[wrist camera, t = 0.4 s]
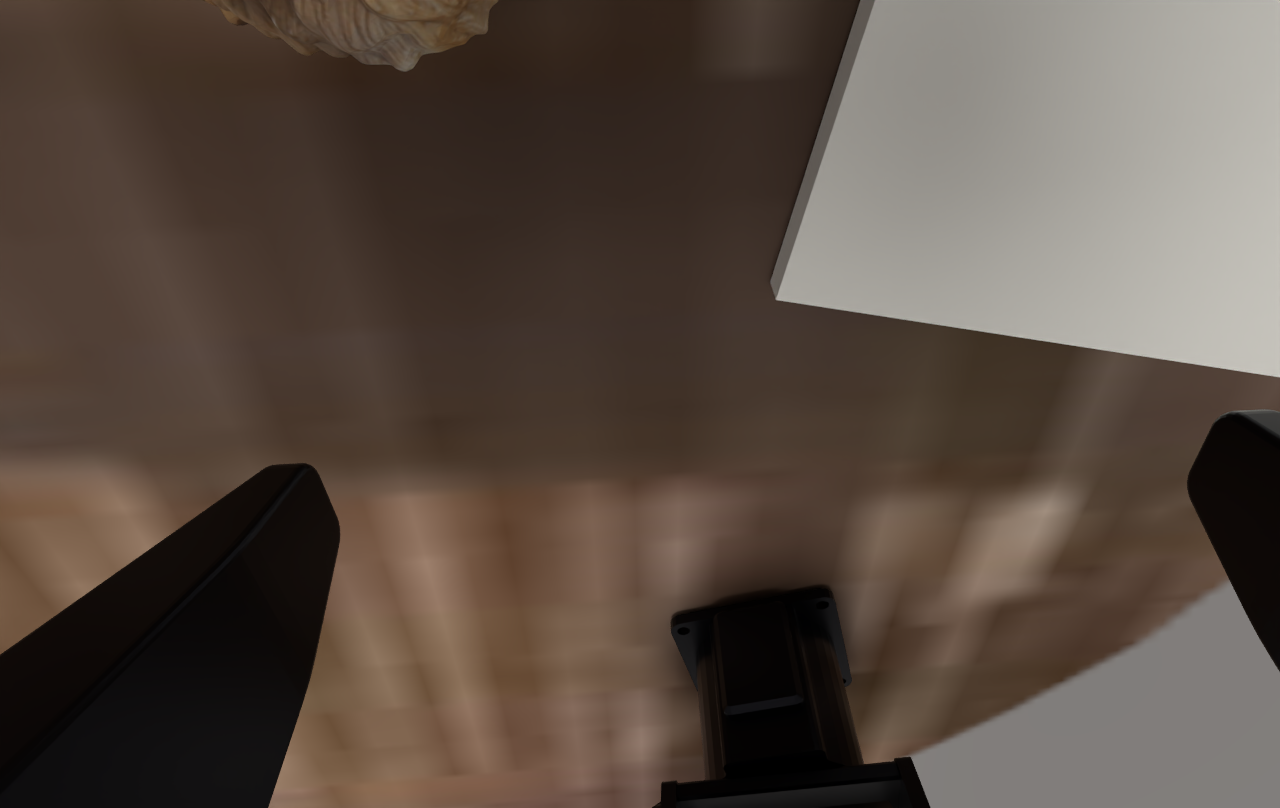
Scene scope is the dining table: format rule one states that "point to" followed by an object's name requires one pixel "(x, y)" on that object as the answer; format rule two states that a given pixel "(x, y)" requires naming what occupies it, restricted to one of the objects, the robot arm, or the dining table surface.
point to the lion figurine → (364, 26)
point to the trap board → (1053, 175)
